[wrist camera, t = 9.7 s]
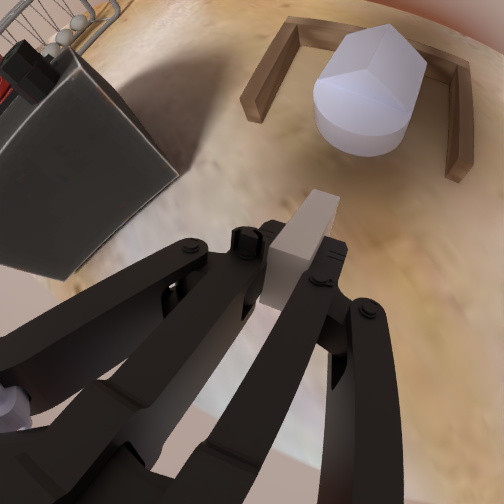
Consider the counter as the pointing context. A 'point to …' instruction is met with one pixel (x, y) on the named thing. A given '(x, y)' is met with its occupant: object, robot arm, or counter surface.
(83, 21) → the newton's cradle
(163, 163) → the voltmeter
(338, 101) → the wedge on round base
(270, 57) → the walnut bay
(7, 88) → the plant pot
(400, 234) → the counter surface
